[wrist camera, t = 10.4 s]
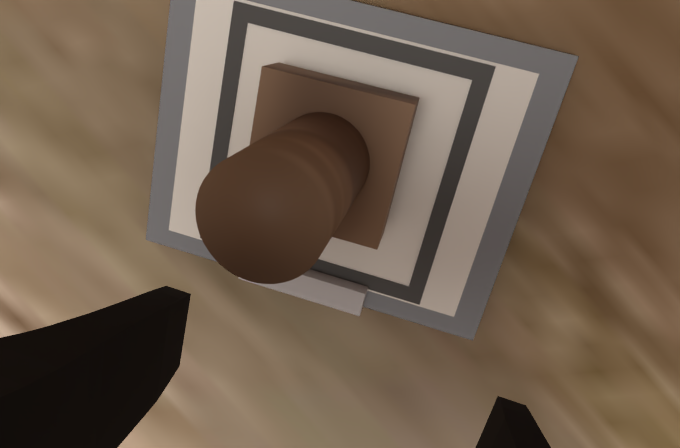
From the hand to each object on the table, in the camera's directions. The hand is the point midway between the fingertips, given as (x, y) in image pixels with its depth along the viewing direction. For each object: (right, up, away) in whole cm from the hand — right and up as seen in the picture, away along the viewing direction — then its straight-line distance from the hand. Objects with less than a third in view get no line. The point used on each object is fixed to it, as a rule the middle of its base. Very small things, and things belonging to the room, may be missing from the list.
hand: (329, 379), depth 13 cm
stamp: (0, +6, +8) cm, 10 cm away
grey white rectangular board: (0, +6, +9) cm, 11 cm away
